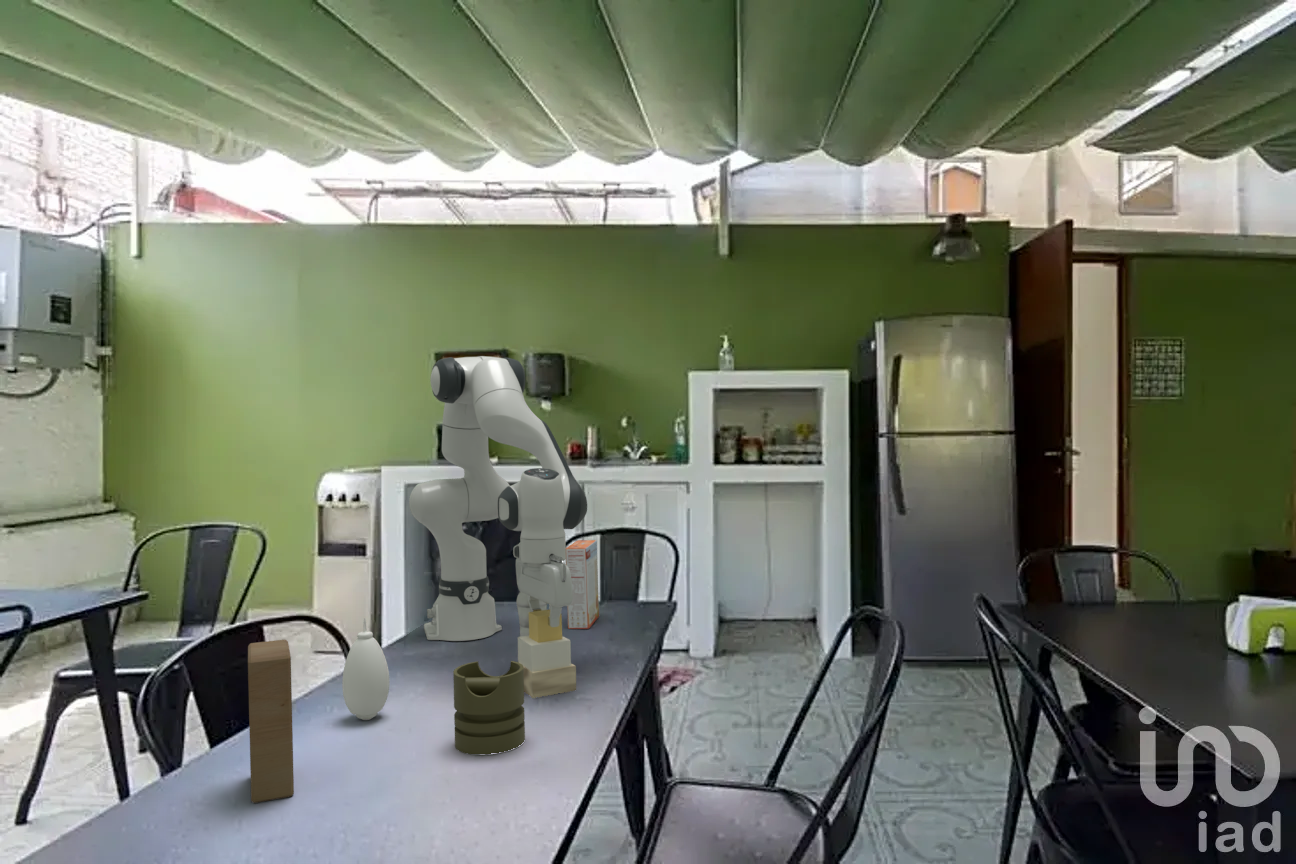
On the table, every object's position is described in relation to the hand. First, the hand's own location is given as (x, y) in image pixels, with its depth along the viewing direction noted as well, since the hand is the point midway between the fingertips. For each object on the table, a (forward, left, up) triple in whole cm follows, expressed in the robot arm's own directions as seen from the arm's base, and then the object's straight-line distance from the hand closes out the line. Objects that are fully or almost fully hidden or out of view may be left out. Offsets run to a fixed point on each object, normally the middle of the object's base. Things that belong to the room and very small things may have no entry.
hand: (544, 621), depth 171 cm
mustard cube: (0, 0, -3) cm, 3 cm away
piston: (+22, -19, -13) cm, 32 cm away
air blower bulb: (-1, -34, -13) cm, 37 cm away
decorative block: (+22, -52, -13) cm, 58 cm away
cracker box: (-47, +30, -13) cm, 57 cm away
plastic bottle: (-14, +3, -13) cm, 19 cm away
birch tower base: (0, 0, -13) cm, 13 cm away
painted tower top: (0, 0, -8) cm, 8 cm away
